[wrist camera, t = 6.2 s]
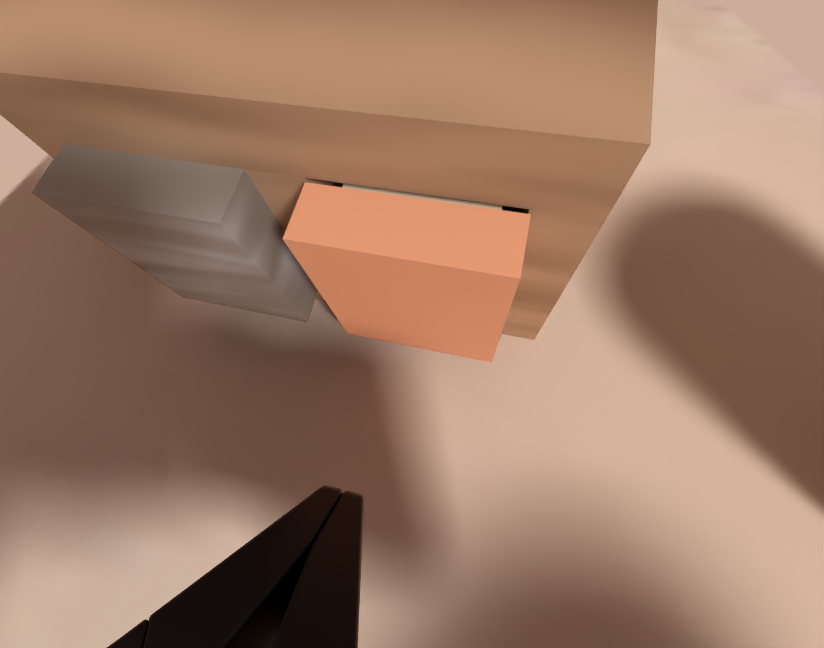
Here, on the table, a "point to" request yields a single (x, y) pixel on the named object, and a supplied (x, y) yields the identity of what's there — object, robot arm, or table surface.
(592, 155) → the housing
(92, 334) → the table surface
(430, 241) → the plug
